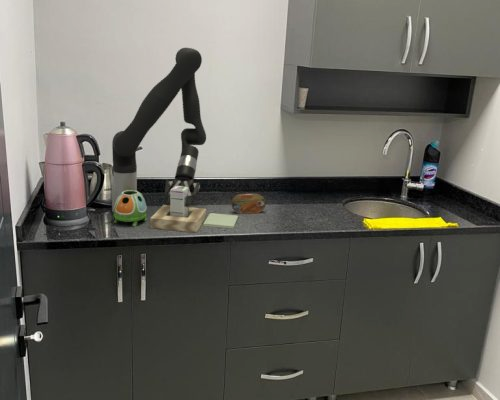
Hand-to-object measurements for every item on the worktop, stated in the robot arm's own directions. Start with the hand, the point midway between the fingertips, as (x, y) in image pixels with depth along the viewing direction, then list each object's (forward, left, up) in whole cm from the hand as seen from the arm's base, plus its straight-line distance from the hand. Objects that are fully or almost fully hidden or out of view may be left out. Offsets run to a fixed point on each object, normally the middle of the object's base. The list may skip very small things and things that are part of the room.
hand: (178, 205), depth 196 cm
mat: (+16, +8, -8) cm, 19 cm away
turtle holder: (-19, 0, -8) cm, 21 cm away
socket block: (0, +2, -8) cm, 8 cm away
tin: (+25, +24, -8) cm, 35 cm away
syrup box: (0, +2, -8) cm, 8 cm away
